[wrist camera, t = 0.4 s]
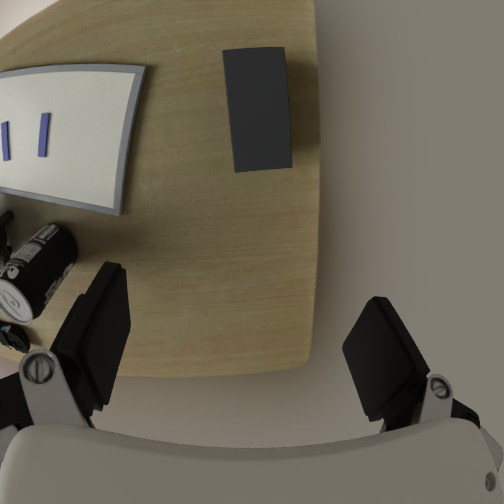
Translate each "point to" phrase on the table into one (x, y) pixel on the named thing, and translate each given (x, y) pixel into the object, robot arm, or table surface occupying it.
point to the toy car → (13, 337)
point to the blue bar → (5, 141)
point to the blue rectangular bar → (43, 134)
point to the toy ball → (5, 237)
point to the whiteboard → (70, 133)
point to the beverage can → (36, 273)
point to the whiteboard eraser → (258, 108)
